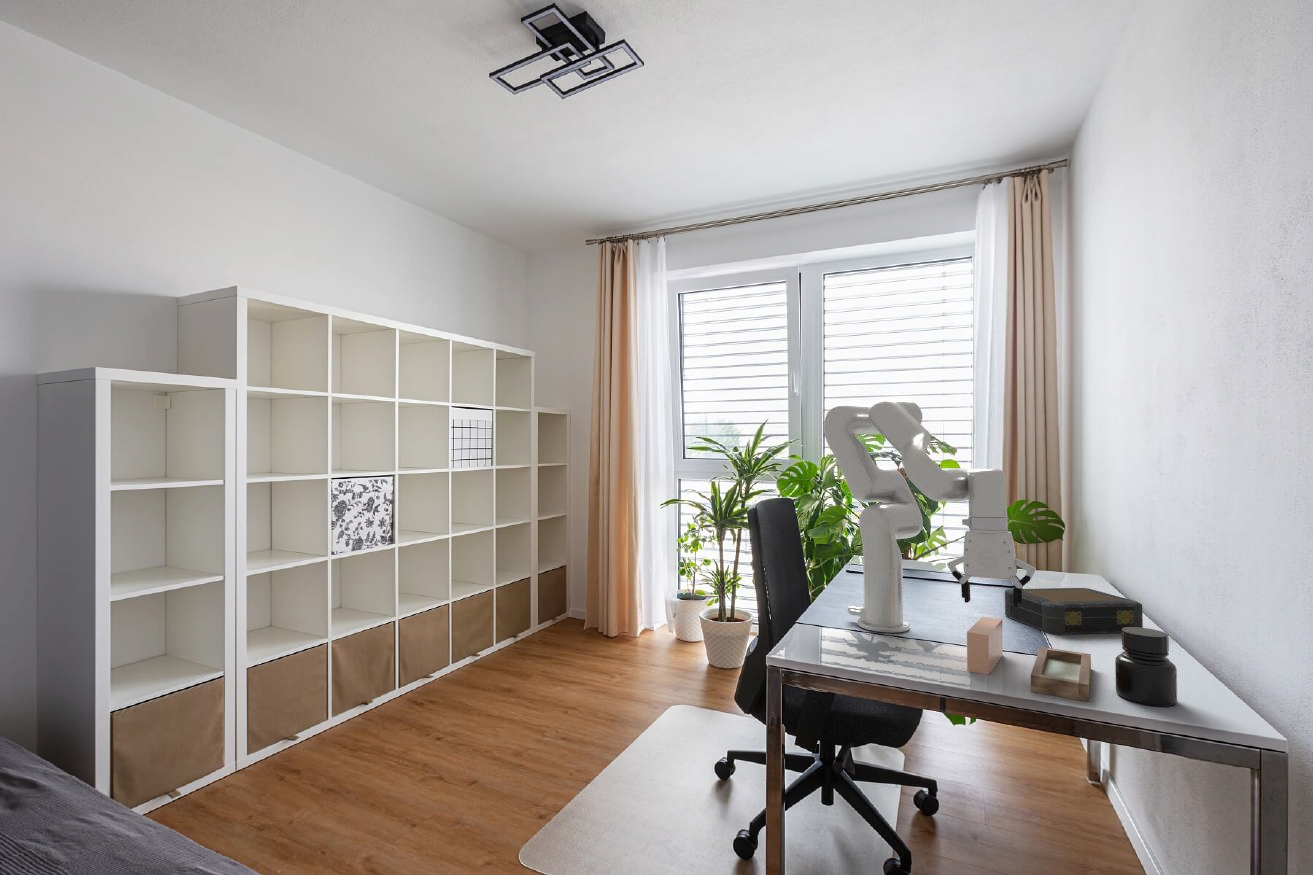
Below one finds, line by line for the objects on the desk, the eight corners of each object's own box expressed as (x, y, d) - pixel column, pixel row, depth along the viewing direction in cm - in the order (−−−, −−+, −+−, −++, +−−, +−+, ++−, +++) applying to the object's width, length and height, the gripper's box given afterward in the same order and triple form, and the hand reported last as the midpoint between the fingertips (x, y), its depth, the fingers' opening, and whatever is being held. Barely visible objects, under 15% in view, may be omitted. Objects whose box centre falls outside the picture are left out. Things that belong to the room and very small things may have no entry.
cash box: (1085, 614, 182) (1084, 586, 182) (1146, 634, 162) (1145, 602, 162) (1000, 616, 179) (1000, 588, 180) (1052, 636, 159) (1051, 604, 160)
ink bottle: (1192, 706, 114) (1191, 637, 114) (1151, 710, 112) (1150, 640, 112) (1140, 687, 123) (1139, 623, 124) (1102, 690, 121) (1100, 626, 122)
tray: (1030, 691, 121) (1030, 674, 121) (1040, 660, 139) (1040, 646, 139) (1088, 701, 116) (1088, 684, 116) (1090, 668, 134) (1090, 654, 134)
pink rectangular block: (967, 671, 133) (966, 631, 133) (982, 652, 145) (982, 616, 146) (988, 675, 130) (988, 635, 130) (1002, 655, 143) (1002, 619, 143)
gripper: (942, 525, 144) (945, 602, 144) (1031, 527, 135) (1035, 611, 134) (949, 522, 151) (952, 597, 150) (1035, 525, 141) (1038, 604, 140)
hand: (991, 603), depth 142 cm, fingers open, 9 cm apart
